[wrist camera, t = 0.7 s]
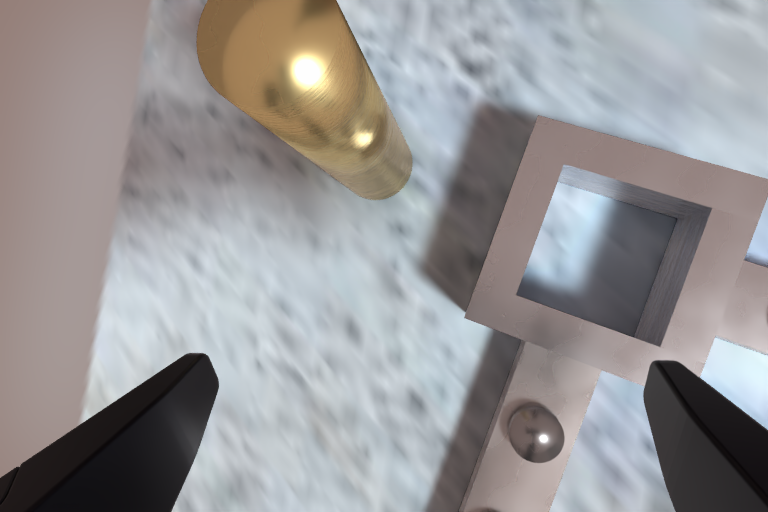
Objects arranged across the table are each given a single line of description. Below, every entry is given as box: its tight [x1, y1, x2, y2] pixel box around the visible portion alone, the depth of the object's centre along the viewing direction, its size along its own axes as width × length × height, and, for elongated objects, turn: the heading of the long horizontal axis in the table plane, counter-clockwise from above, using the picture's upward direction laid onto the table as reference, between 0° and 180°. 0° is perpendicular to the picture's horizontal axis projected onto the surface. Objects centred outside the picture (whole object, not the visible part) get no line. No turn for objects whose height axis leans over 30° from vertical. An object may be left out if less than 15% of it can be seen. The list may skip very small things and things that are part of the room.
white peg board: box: [459, 115, 768, 512], centre depth 18 cm, size 21×21×3 cm
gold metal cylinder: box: [197, 0, 412, 200], centre depth 17 cm, size 4×4×12 cm
